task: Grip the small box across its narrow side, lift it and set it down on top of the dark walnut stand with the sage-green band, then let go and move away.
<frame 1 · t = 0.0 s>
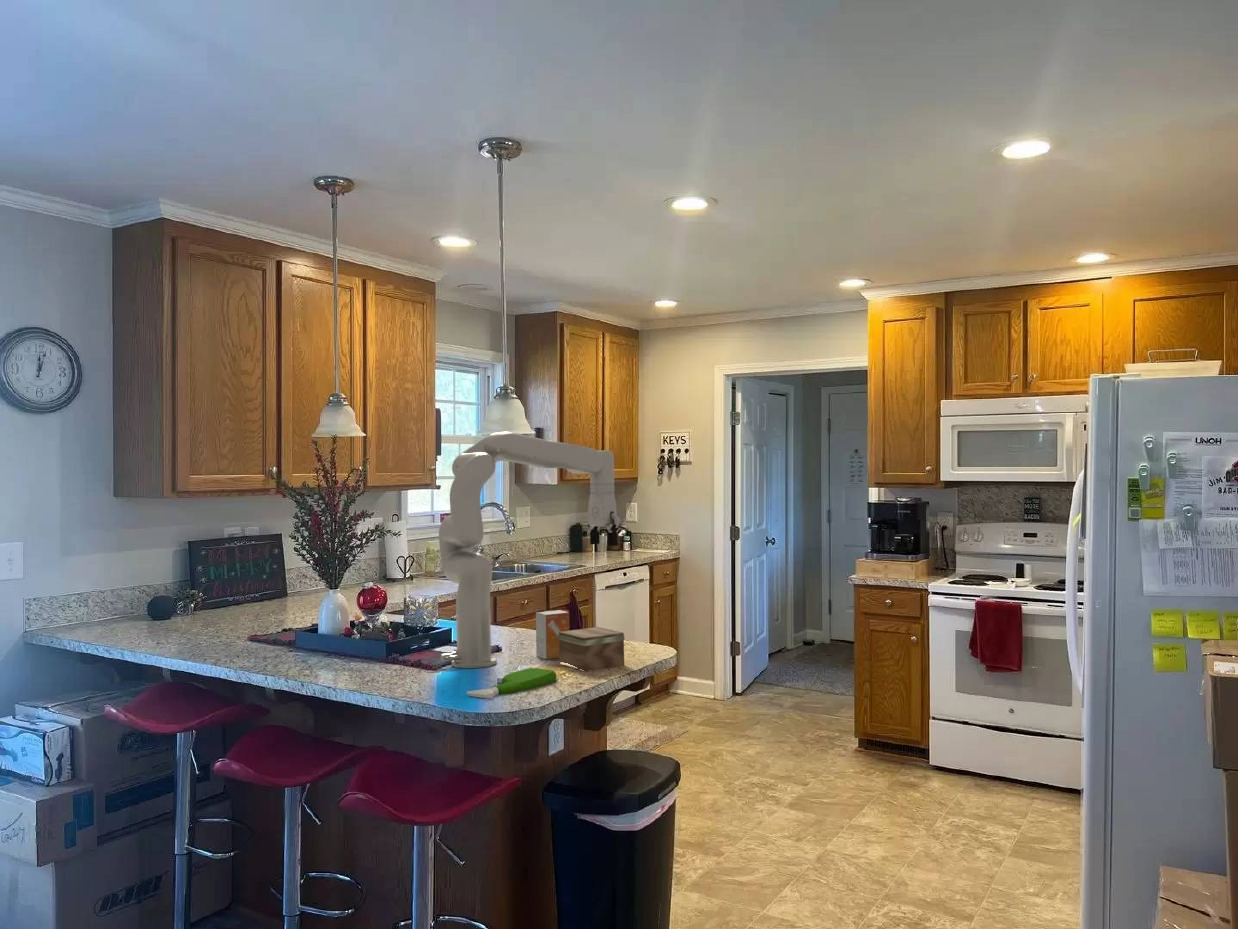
hand: (603, 544, 282), 31 cm above the counter, tool pointing down, fingers open, 9 cm apart
small box: (553, 657, 265), on the counter
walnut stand: (591, 664, 252), on the counter
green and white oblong: (512, 690, 225), on the counter
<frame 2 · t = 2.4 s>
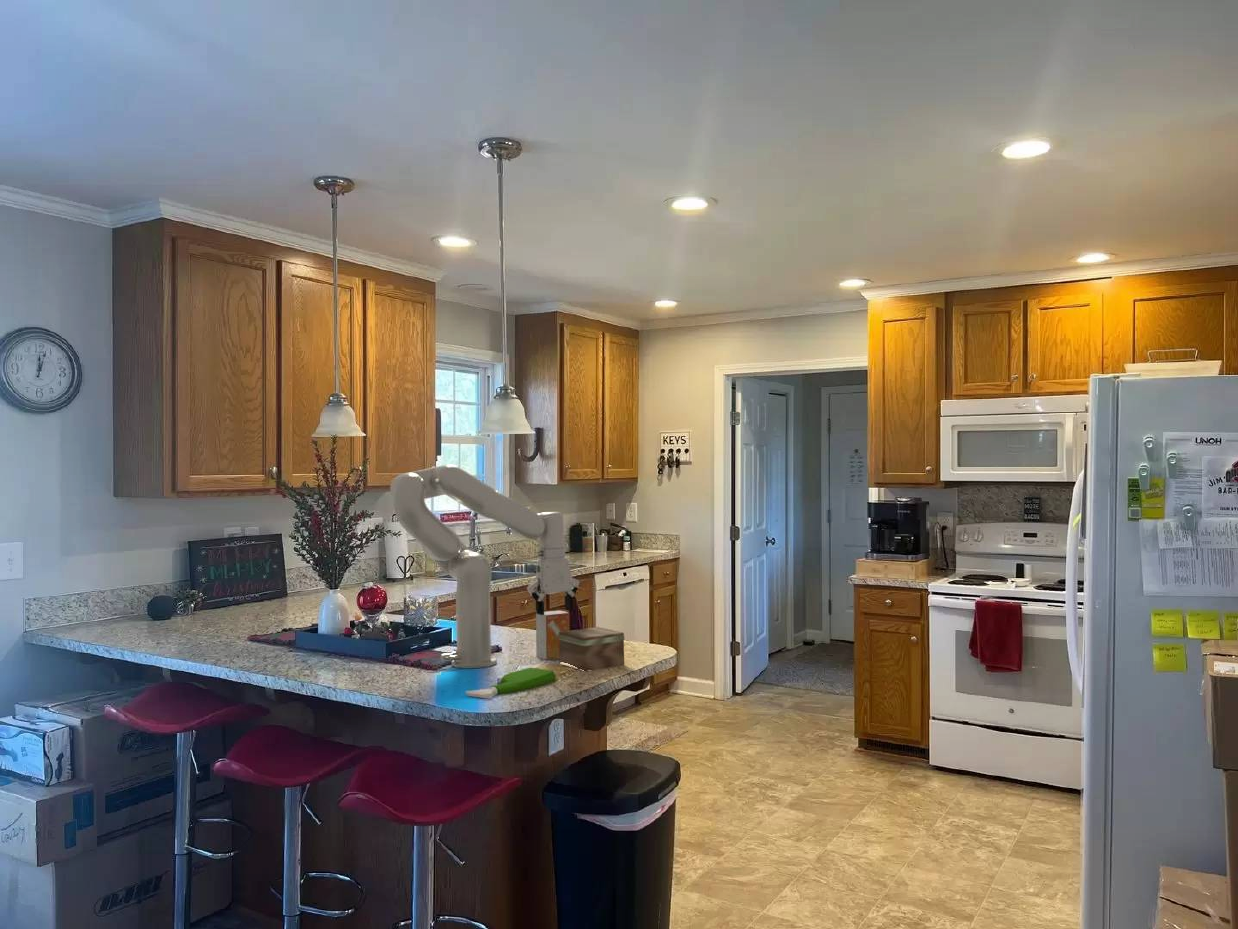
hand: (554, 612, 265), 13 cm above the counter, tool pointing down, fingers open, 9 cm apart
small box: (553, 657, 265), on the counter, touching gripper
everything else where it was.
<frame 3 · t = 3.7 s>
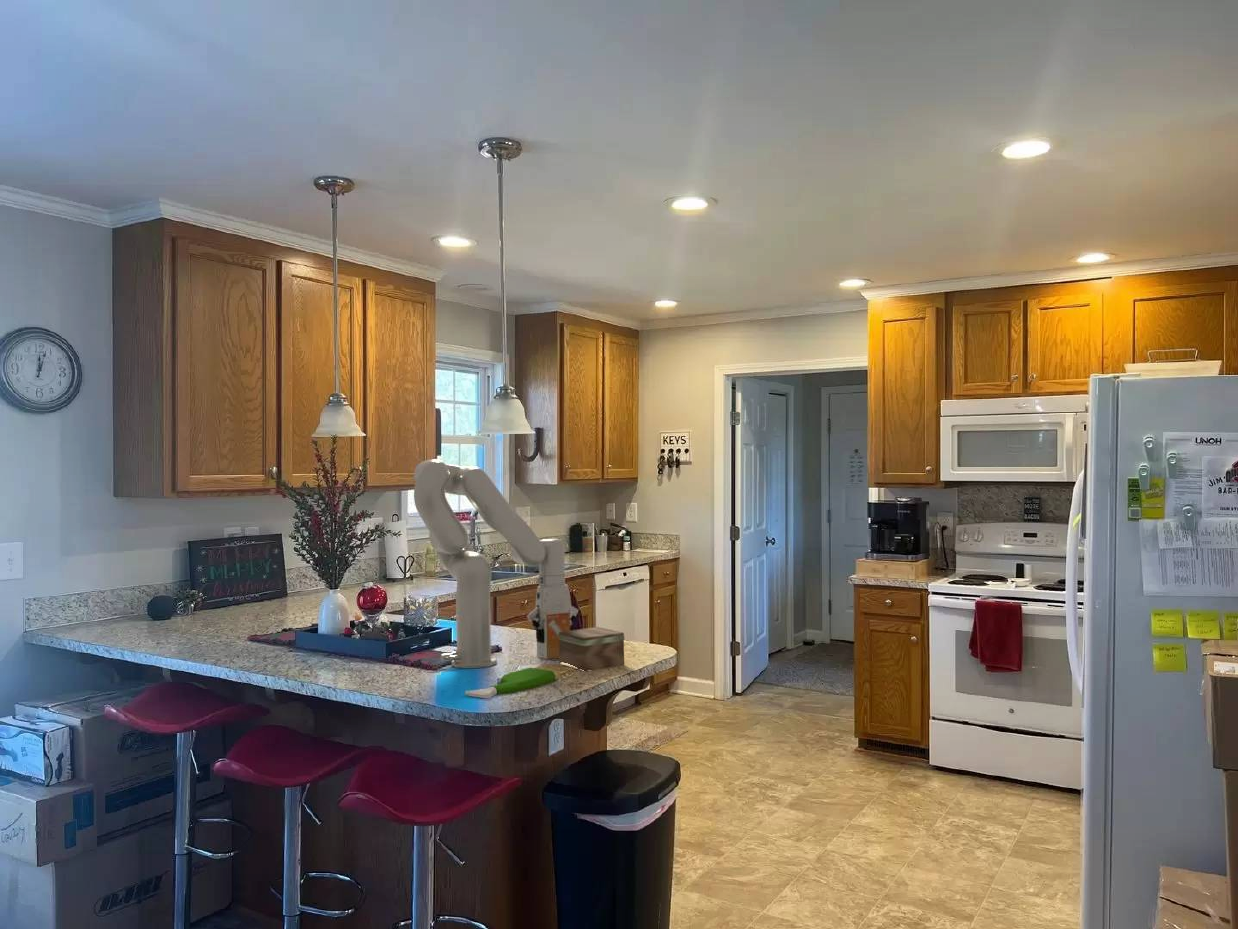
hand: (553, 640, 265), 5 cm above the counter, tool pointing down, fingers closed on small box, 8 cm apart
small box: (553, 657, 265), on the counter, touching gripper
everything else where it was.
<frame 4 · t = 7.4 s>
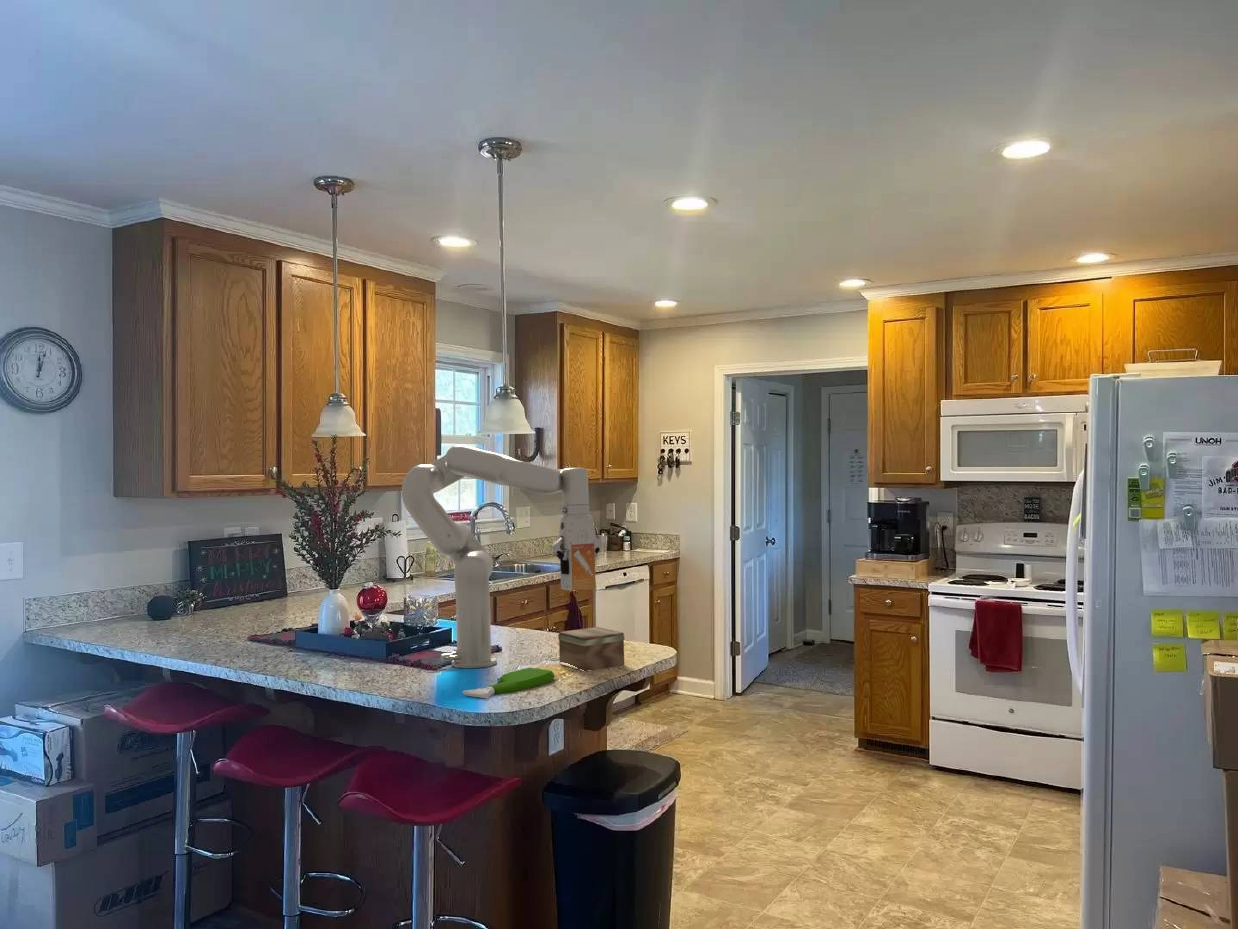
hand: (578, 572, 256), 25 cm above the counter, tool pointing down, fingers closed on small box, 8 cm apart
small box: (578, 589, 256), point 20 cm above the counter, touching gripper
everything else where it was.
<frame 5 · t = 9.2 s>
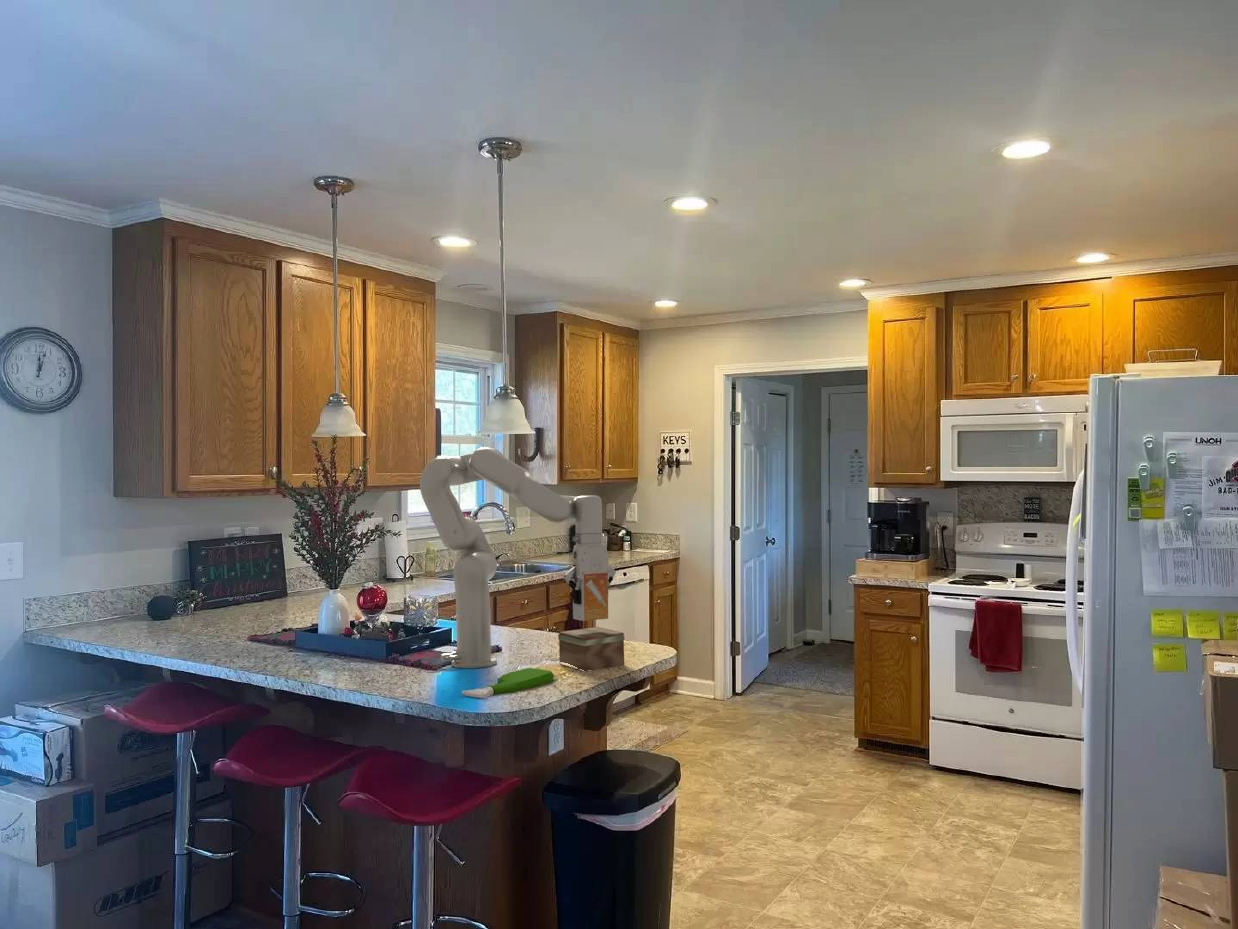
hand: (590, 602, 252), 17 cm above the counter, tool pointing down, fingers closed on small box, 8 cm apart
small box: (590, 619, 252), point 13 cm above the counter, touching gripper
everything else where it was.
when the fingers open (14 cm above the counter, at t = 10.8 s): small box stays where it is, resting on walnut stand.
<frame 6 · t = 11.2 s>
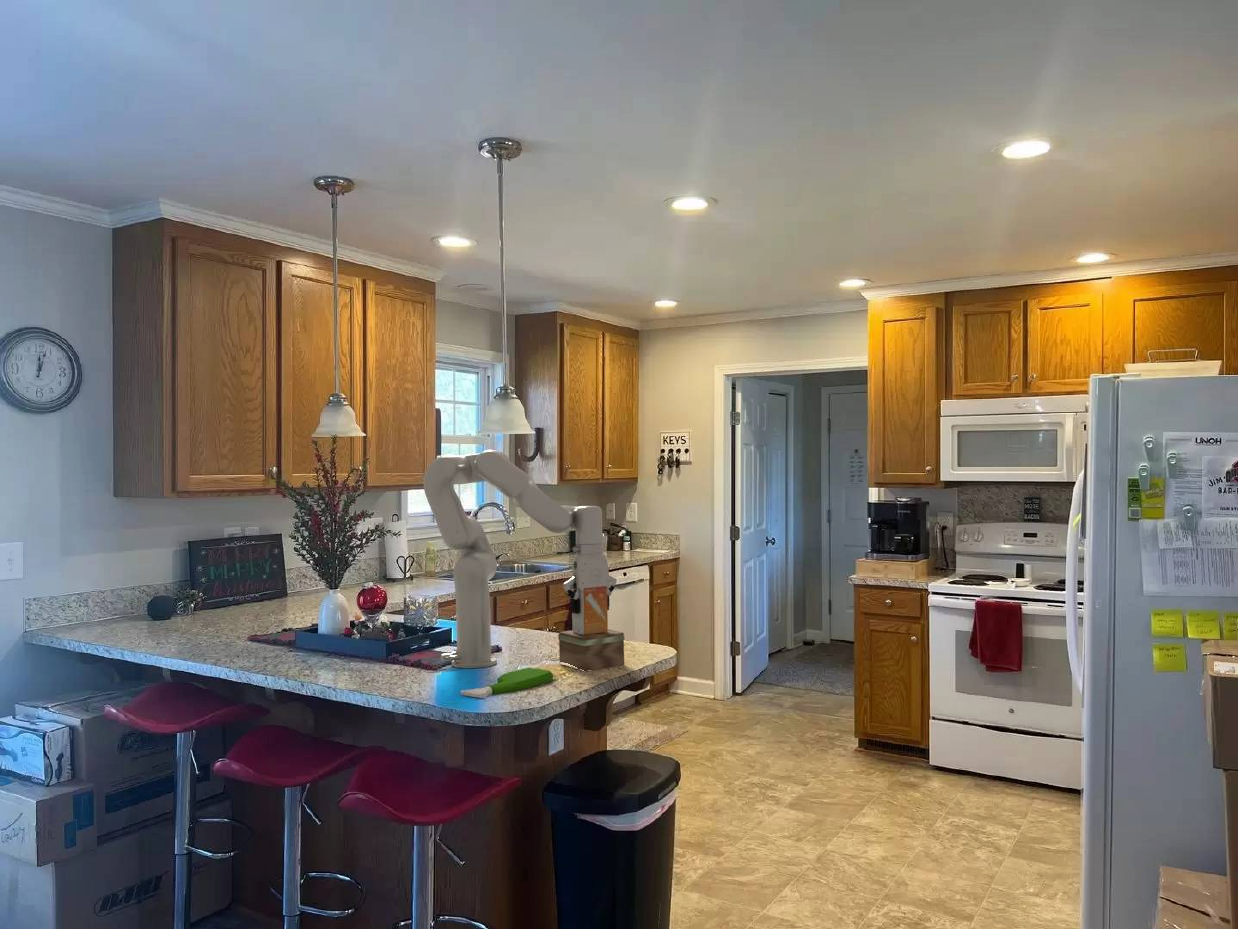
hand: (590, 611, 252), 15 cm above the counter, tool pointing down, fingers open, 9 cm apart
small box: (590, 633, 252), point 9 cm above the counter, touching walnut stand
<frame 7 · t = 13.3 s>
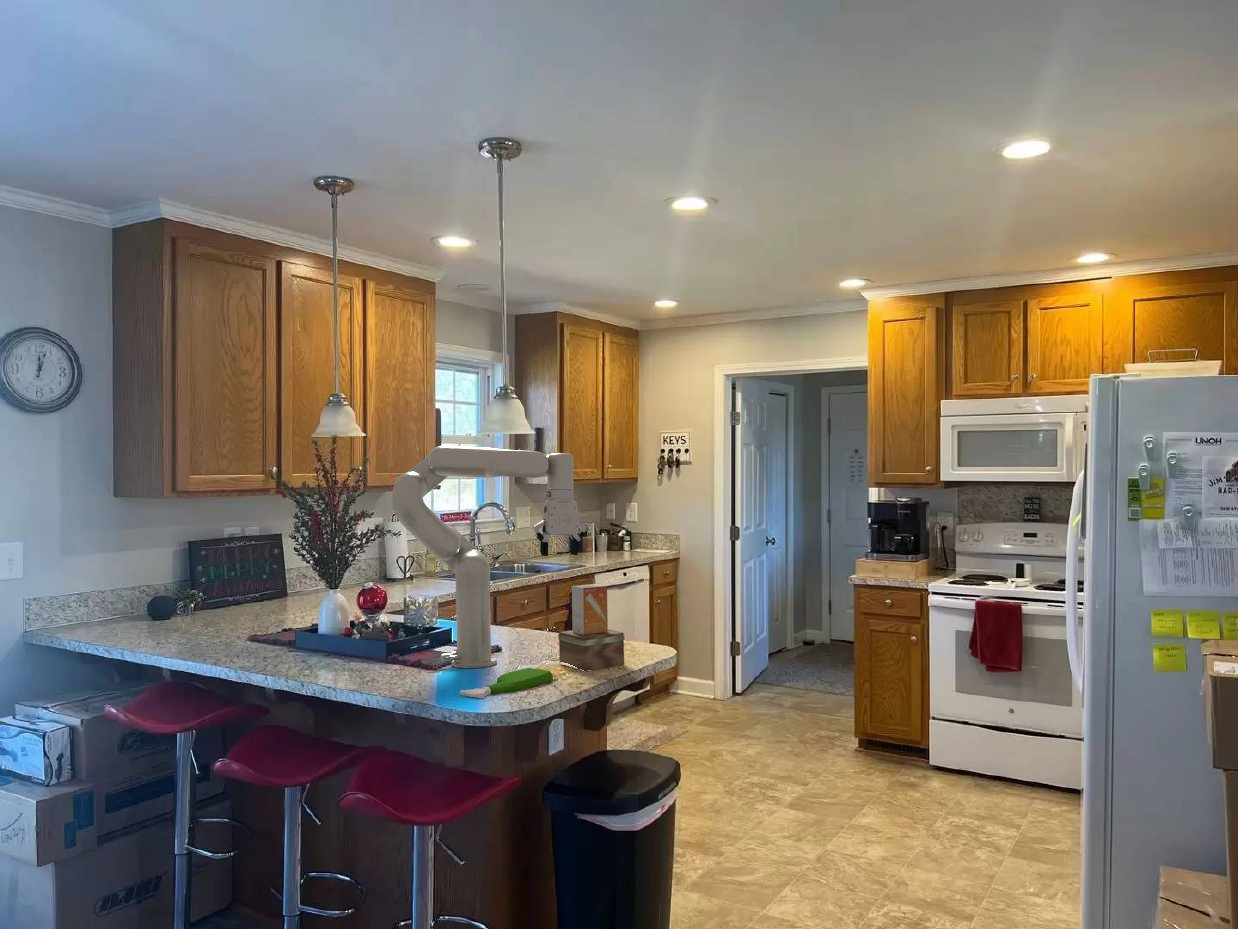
hand: (559, 555, 260), 30 cm above the counter, tool pointing down, fingers open, 9 cm apart
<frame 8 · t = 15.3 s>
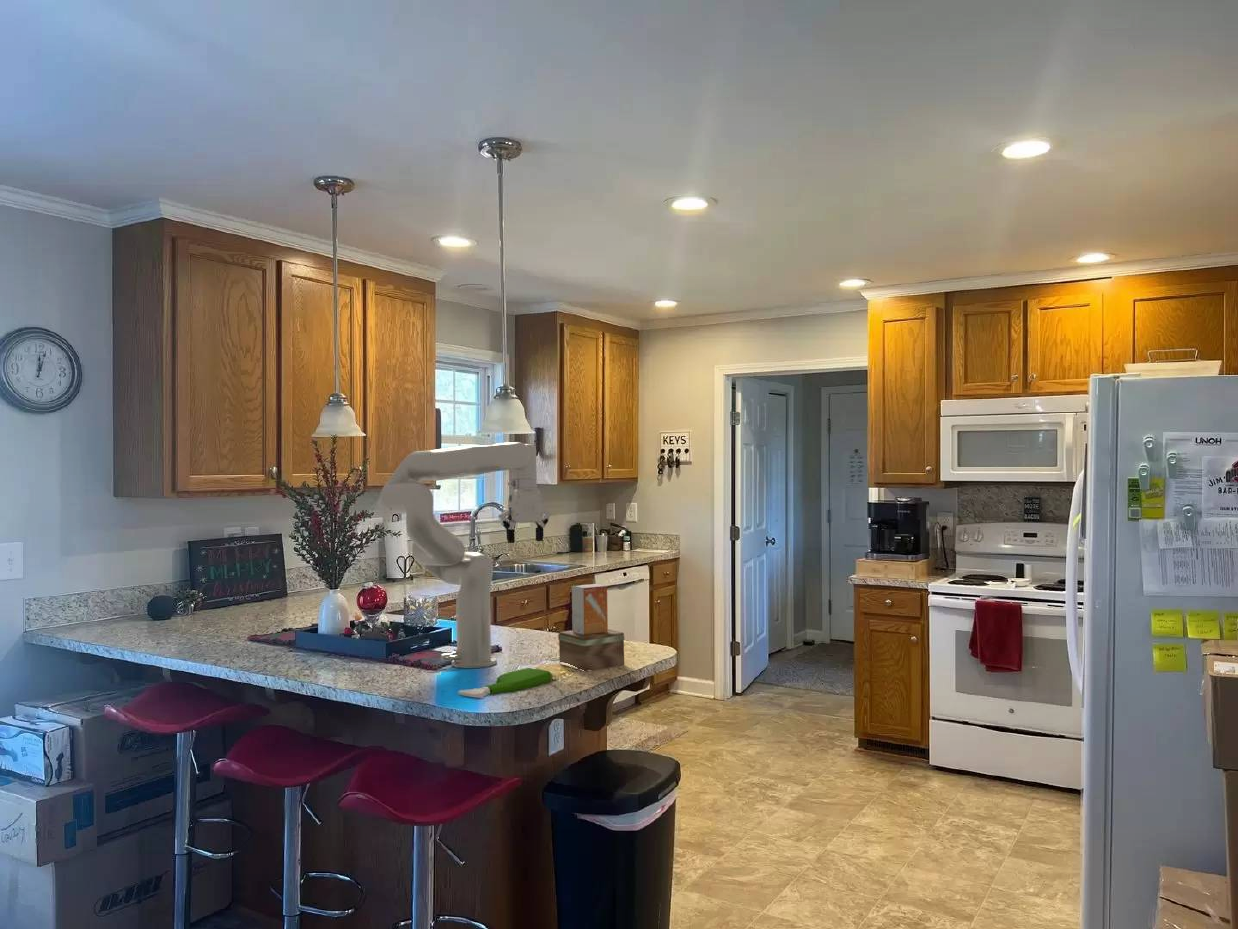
hand: (525, 541, 272), 33 cm above the counter, tool pointing down, fingers open, 9 cm apart
at the end: small box 0.3 cm off-centre on the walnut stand, point 8.8 cm above the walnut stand's base; small box tilted 0°; the gripper is holding nothing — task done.
